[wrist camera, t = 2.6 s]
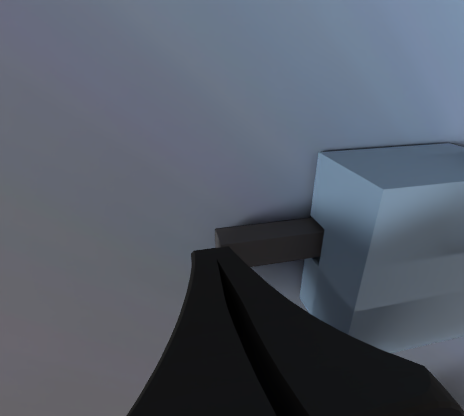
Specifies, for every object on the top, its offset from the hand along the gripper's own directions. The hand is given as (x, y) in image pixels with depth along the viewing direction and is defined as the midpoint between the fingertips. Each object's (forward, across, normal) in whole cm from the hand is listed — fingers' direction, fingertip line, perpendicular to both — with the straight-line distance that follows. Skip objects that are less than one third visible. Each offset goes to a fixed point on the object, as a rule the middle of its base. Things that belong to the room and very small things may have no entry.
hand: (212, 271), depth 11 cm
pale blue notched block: (+2, -8, 0) cm, 8 cm away
